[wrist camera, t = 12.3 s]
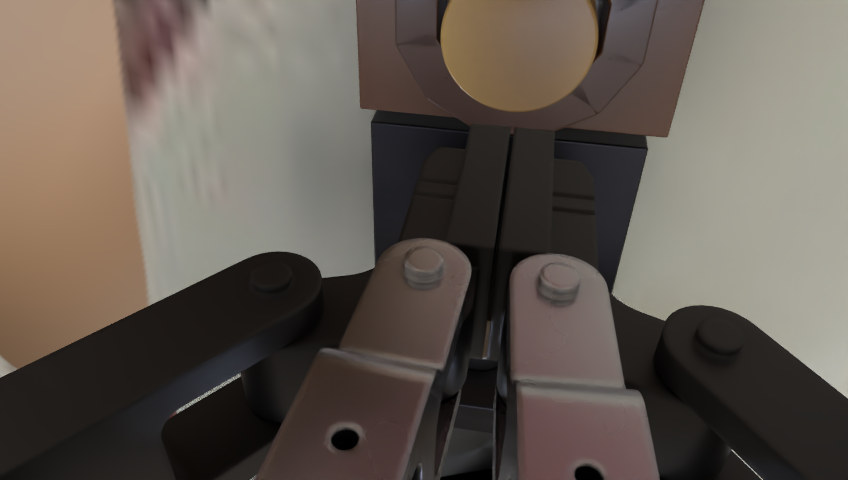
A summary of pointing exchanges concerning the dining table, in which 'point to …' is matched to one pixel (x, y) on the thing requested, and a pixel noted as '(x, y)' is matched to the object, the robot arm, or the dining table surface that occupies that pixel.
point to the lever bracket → (394, 186)
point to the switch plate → (581, 109)
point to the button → (519, 49)
